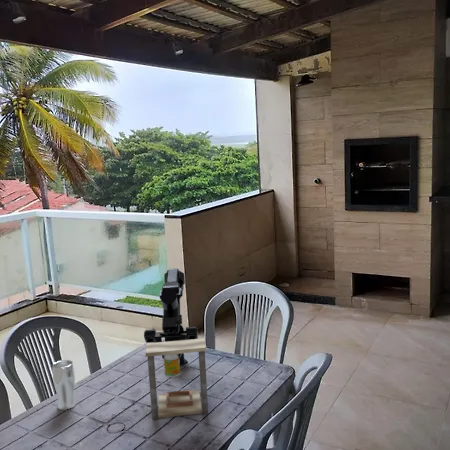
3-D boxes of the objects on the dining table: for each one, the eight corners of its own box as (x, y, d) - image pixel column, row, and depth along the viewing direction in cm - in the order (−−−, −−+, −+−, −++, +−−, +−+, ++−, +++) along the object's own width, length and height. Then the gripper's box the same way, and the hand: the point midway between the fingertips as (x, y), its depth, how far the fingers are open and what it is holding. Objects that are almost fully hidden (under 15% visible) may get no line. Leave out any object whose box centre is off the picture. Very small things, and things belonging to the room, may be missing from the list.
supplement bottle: (164, 378, 168) (162, 351, 166) (166, 370, 173) (164, 345, 172) (179, 377, 168) (177, 350, 166) (181, 370, 173) (179, 344, 172)
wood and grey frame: (151, 397, 168) (147, 336, 165) (206, 391, 170) (202, 331, 167) (150, 420, 154) (145, 353, 150) (210, 413, 156) (206, 348, 153)
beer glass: (57, 413, 161) (53, 370, 159) (54, 404, 167) (50, 362, 165) (79, 407, 164) (75, 365, 162) (75, 398, 170) (71, 358, 168)
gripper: (142, 308, 170) (141, 351, 161) (195, 305, 171) (197, 347, 162) (146, 321, 179) (145, 362, 170) (197, 318, 180) (198, 359, 171)
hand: (171, 357), depth 168 cm, fingers closed on supplement bottle, 5 cm apart
